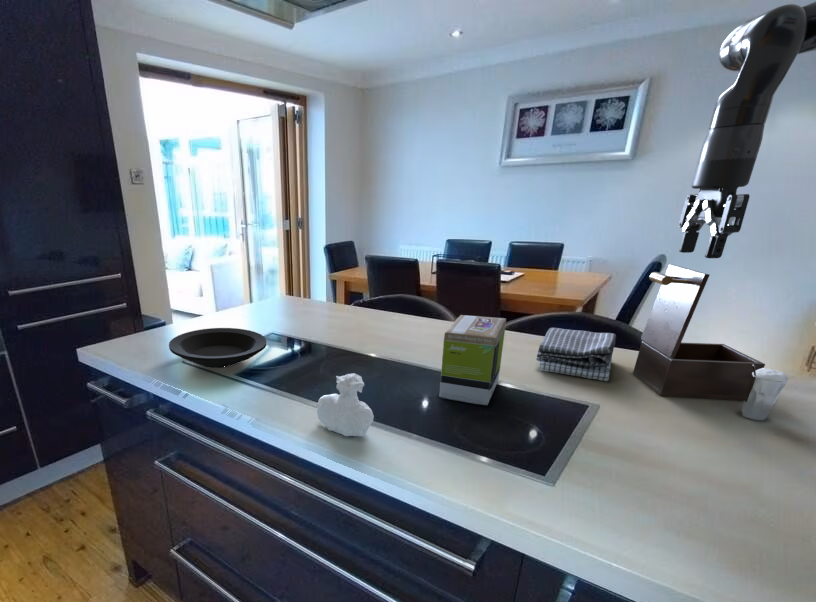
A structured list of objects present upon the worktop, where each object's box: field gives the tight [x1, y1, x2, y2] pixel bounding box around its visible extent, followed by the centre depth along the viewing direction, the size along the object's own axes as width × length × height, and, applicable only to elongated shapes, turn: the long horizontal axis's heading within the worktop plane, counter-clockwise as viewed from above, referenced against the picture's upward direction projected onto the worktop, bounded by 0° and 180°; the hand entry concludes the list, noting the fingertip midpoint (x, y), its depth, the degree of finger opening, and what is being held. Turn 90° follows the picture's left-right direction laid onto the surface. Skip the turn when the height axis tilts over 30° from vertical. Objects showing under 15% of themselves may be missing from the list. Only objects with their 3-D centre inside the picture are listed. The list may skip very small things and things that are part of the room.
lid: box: [640, 263, 710, 358], centre depth 90 cm, size 16×13×5 cm
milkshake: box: [740, 365, 789, 421], centre depth 79 cm, size 4×5×10 cm
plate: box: [168, 327, 267, 369], centre depth 116 cm, size 28×24×6 cm
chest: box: [632, 340, 766, 401], centre depth 93 cm, size 16×13×8 cm
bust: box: [316, 372, 375, 437], centre depth 80 cm, size 12×8×11 cm
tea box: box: [438, 314, 507, 406], centre depth 93 cm, size 15×10×15 cm
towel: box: [535, 327, 617, 382], centre depth 106 cm, size 15×18×8 cm
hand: (698, 255), depth 82 cm, fingers open, 8 cm apart
